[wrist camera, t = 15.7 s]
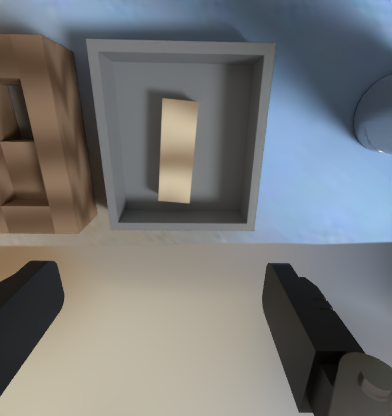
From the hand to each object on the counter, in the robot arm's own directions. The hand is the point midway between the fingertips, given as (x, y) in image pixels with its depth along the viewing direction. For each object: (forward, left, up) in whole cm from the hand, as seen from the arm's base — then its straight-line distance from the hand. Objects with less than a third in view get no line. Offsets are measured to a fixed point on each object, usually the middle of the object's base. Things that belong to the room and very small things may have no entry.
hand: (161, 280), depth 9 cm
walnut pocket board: (+10, -15, -24) cm, 30 cm away
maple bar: (-1, -2, -24) cm, 23 cm away
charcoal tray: (-2, -2, -24) cm, 24 cm away
